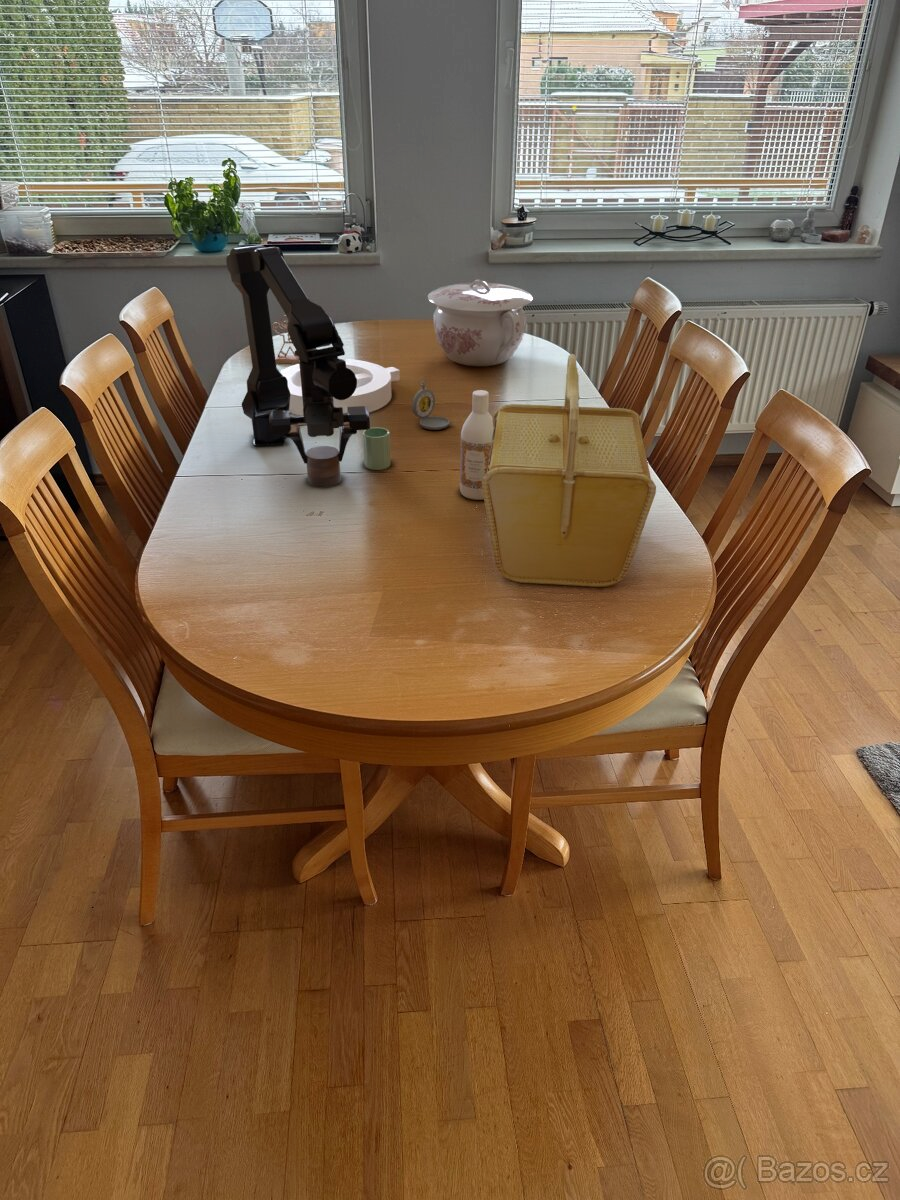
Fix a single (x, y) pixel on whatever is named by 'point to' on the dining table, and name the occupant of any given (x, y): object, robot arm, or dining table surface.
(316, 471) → the middle chip
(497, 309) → the chamber pot
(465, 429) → the bath foam
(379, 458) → the plastic cup
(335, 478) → the base chip
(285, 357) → the gingerbread man figurine
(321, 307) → the robot arm
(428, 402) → the pocket watch
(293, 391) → the ring with crossbar
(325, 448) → the dark brown wooden disc
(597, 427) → the picnic basket
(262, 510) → the dining table surface
